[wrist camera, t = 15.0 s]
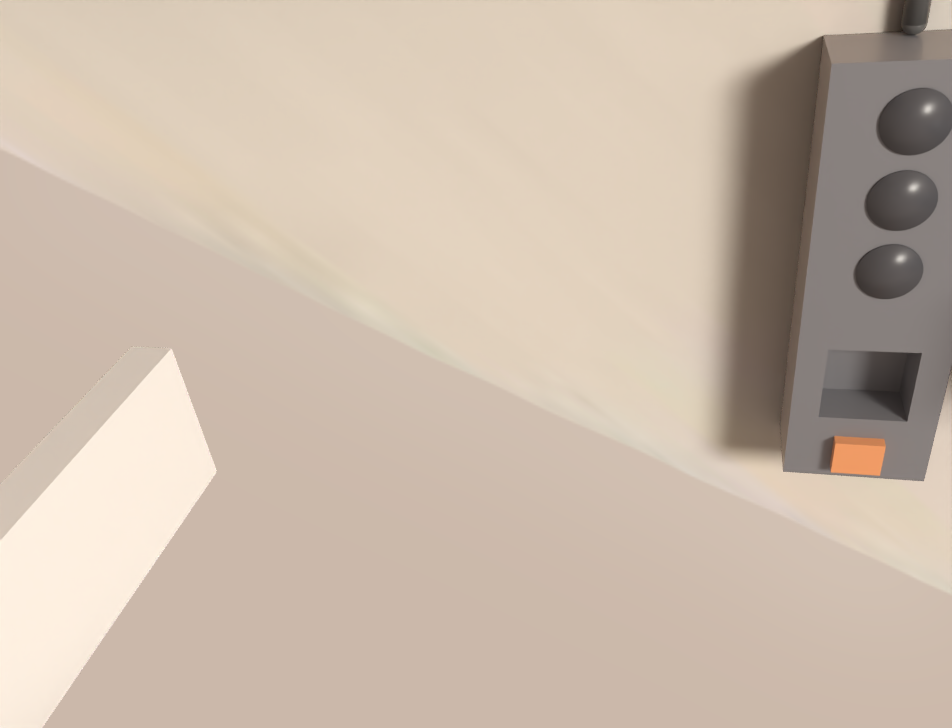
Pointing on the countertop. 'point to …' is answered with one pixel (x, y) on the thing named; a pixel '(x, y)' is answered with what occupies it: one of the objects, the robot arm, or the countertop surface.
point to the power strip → (874, 258)
